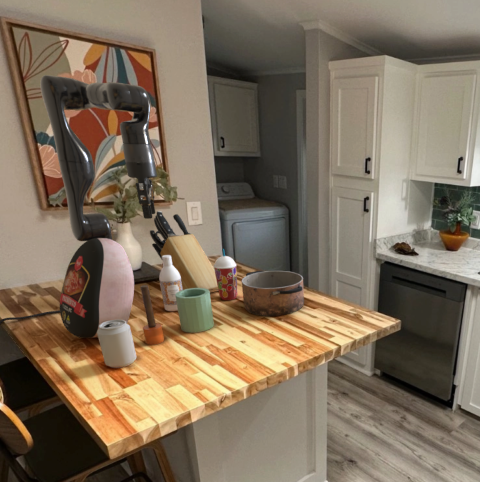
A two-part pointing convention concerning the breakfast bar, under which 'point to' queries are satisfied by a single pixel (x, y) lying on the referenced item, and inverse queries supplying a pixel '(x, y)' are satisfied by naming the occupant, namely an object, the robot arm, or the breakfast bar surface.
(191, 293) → the jar
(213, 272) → the knife block
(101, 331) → the can
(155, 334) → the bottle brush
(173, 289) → the bath foam
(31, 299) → the breakfast bar surface
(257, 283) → the cooking pot
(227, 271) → the smoothie
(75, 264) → the packaged food
